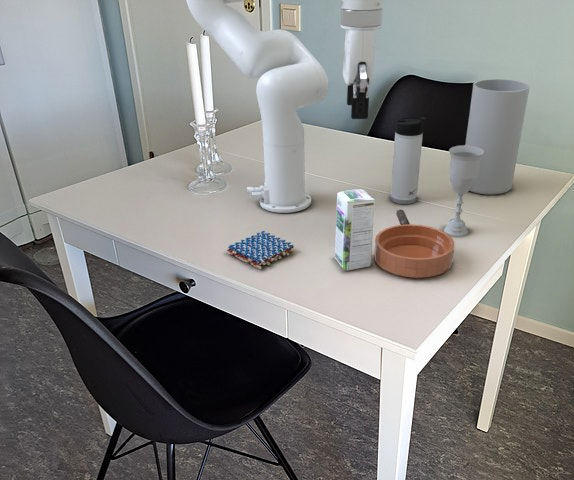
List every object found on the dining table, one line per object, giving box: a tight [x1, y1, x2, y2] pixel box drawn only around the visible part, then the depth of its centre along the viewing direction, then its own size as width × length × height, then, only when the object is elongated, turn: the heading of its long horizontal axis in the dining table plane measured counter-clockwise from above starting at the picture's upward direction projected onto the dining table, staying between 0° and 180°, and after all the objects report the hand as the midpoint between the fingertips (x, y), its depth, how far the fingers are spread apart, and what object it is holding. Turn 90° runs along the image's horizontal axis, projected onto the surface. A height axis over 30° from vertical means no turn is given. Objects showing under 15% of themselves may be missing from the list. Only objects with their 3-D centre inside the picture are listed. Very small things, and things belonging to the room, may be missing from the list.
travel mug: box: [390, 116, 426, 205], centre depth 143 cm, size 6×7×20 cm
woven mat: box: [226, 230, 295, 271], centre depth 125 cm, size 10×11×2 cm
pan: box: [373, 223, 455, 278], centre depth 120 cm, size 15×15×4 cm
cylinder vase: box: [464, 78, 531, 196], centre depth 147 cm, size 12×12×25 cm
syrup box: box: [334, 189, 376, 272], centre depth 118 cm, size 6×6×14 cm
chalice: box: [443, 144, 484, 237], centre depth 128 cm, size 7×7×18 cm
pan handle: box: [395, 208, 411, 225], centre depth 129 cm, size 9×2×2 cm, turn 1°
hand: (356, 111), depth 121 cm, fingers open, 9 cm apart
